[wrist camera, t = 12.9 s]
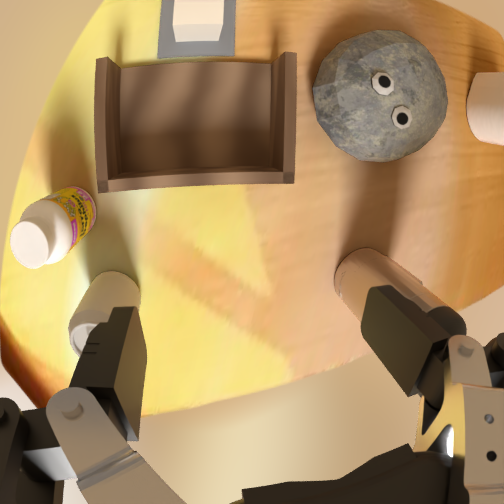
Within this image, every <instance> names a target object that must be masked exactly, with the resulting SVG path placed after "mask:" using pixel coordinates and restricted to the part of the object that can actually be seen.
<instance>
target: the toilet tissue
mask: <svg viewBox="0 0 504 504" xmlns="http://www.w3.org/2000/svg"><path fill="white" fill-rule="evenodd" d="M466 109H467V118H468V122H469V126H470V128H471V130H472V132H473V134H474V135H475V137H476V138H477V139H478V140H480V141H482V142H488V143H492V144H498V145H503V146H504V72H484V73H483V72H481V73H477V74H476V75H475V77H474V79H473V82H472V85H471V89H470V92H469V95H468V98H467V107H466Z"/></svg>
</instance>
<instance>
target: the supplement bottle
mask: <svg viewBox="0 0 504 504" xmlns="http://www.w3.org/2000/svg"><path fill="white" fill-rule="evenodd" d="M95 219H96V207H95V203H94V201H93V199H92V197H91V196H90V194H89V193H88V192H86V191H85V190H84V189H82V188H79V187H74V186H72V187H66V188H64V189H61V190H59V191H57V192H55V193H53V194H50V195H48V196H46V197H44V198H42V199H40V200H38V201H36V202H34V203H33V204H31V205H30V206H28V207H27V208H26V209H25V211H24V212H23V214H22V216H21V218H20V222H19V223H17V224H16V225H15V226H14V228H13V230H12V232H11V236H10V245H11V249H12V252H13V254H14V256H15V258H16V259H17V260H18V261H19V262H20V263H21V264H22V265H23V266H25V267H27V268H32V269H35V268H39V267H41V266H42V265H43V264H52V263H55V262H58V261H59V260H61V259H62V258H63V257H64V256H65V255H66V254H67V253H68V252H69V251H70V250H71V249H72V248H73V247H74V246H75V245H76V244H77V243H78V242H79V241H80V240H81V239H82V238H83V237H84V236H85V235H86V234H87V233H88V232H89V231H90V230H91V228H92V227H93V225H94V223H95Z"/></svg>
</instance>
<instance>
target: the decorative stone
mask: <svg viewBox="0 0 504 504" xmlns="http://www.w3.org/2000/svg"><path fill="white" fill-rule="evenodd" d="M312 89H313V95H314V102H315V109H316V116H317V121H318V123H319V124H320V125H321V127H322V128H323V129H324V131H325V132H326V133H327V135H328V136H329V137H330V139H331V140H332V141H333V143H334V144H335V145H336V147H338V148H340V149H342V150H343V151H345V152H347V153H349V154H350V155H352V156H354V157H355V158H357V159H359V160H364V161H374V162H388V161H393V160H397V159H400V158H402V157H404V156H407V155H409V154H411V153H413V152H416V151H418V150H419V149H421V148H422V147H423V146H424V145H425V144H426V143H427V142H428V141H429V140H431V139H432V138H433V137H434V135H435V134H436V132H437V131H438V129H439V128H440V126H441V125H442V123H443V121H444V119H445V116H446V111H447V105H448V97H447V90H446V84H445V78H444V76H443V74H442V72H441V70H440V68H439V66H438V65H437V63H436V61H435V59H434V57H433V56H432V55H431V53H430V52H429V51H428V50H427V48H426V47H425V46H424V45H422V44H421V43H420V42H419V41H417V40H416V39H414V38H412V37H410V36H408V35H407V34H405V33H403V32H401V31H394V30H375V31H371V32H367V33H363V34H360V35H357V36H355V37H352V38H350V39H347V40H345V41H342V42H340V43H339V44H338V45H337V46H336V47H335V48H334V49H333V50H332V51H331V52H330V53H329V54H328V55H327V56H326V57H325V58H324V59H323V61H322V63H321V66H320V68H319V71H318V74H317V77H316V79H315V82H314V85H313V88H312Z"/></svg>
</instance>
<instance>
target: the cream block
mask: <svg viewBox="0 0 504 504" xmlns="http://www.w3.org/2000/svg"><path fill="white" fill-rule="evenodd" d="M223 13H224V0H175V1H174V13H173V30H174V35H175V40H176V42H186V41H219V37H220V33H221V30H222V26H223Z"/></svg>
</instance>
